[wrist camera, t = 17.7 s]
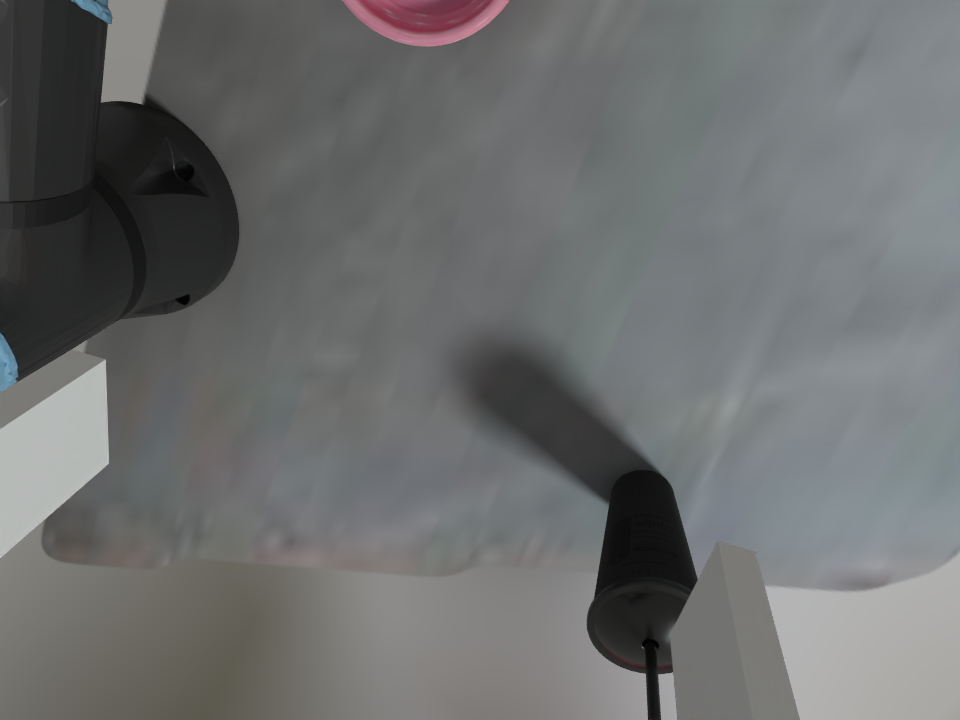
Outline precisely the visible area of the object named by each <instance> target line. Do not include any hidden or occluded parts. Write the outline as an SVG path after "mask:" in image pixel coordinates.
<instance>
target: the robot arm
mask: <svg viewBox="0 0 960 720" xmlns="http://www.w3.org/2000/svg"><path fill="white" fill-rule="evenodd" d="M108 24H112V15H111V12H110V10H109V8H108V0H0V558H1V557H2V556H3V555H4V554H5V553H6V552H8V551H9V550H10V549H11V548H12V547H13V546H15V545H16V544H17V543H18V542H19V541H20V540H21V539H23V538H24V537H25V536H26V535H27V534H28V533H30V532H31V531H32V530H33V529H34V528H35V527H36V526H38V525H39V524H40V523H41V522H42V521H43V520H44V519H46V518H47V517H48V516H49V515H50V514H51V513H53V512H54V511H55V510H56V509H57V508H58V507H59V506H61V505H62V504H63V503H64V502H65V501H66V500H67V499H69V498H70V497H71V496H72V495H73V494H74V493H76V492H77V491H78V490H79V489H80V488H81V487H82V486H84V485H85V484H86V483H87V482H88V481H89V480H90V479H92V478H93V477H94V476H95V475H96V474H97V473H99V472H100V471H101V470H102V469H103V468H104V467H105V466H107V465H108V464H109V452H108V421H107V389H106V360H105V359H102V358H99V357H95V356H92V355H89V354H85V353H82V352H78V351H75V350H71V349H73V348H74V347H76V346H78V345H79V344H81V343H82V342H84V341H86V340H87V339H89V338H90V337H92V336H94V335H95V334H97V333H98V332H100V331H102V330H103V329H105V328H106V327H108V326H109V325H111V324H113V323H114V322H116V321H118V320H119V319H128V318H137V317H145V316H154V315H163V314H168V313H173V312H176V311H179V310H182V309H184V308H187V307H189V306H191V305H193V304H194V303H196V302H197V301H199V300H200V299H202V298H203V297H205V296H206V295H208V294H209V293H211V292H212V291H213V290H214V289H216V288H217V287H218V286H219V285H220V284H221V282H222V281H223V280H224V279H225V277H226V276H227V274H228V272H229V271H230V269H231V267H232V264H233V262H234V259H235V256H236V252H237V247H238V240H239V221H238V213H237V208H236V204H235V200H234V196H233V193H232V190H231V188H230V185H229V183H228V181H227V179H226V177H225V175H224V173H223V171H222V169H221V167H220V166H219V164H218V162H217V161H216V159H215V158H214V157H213V155H212V154H211V153H210V151H209V150H208V149H207V148H206V146H205V145H204V144H203V143H202V142H201V141H200V140H199V139H198V138H197V137H196V136H195V135H194V134H193V133H192V132H191V131H190V130H188V129H187V128H186V127H185V126H183V125H182V124H181V123H179V122H178V121H176V120H175V119H173V118H172V117H170V116H168V115H166V114H165V113H163V112H160V111H158V110H156V109H154V108H151V107H148V106H145V105H142V104H137V103H132V102H124V101H123V102H122V101H111V102H103V103H101V93H102V82H103V71H104V59H105V49H106V37H107V26H108ZM66 352H67V353H66ZM670 641H671V653H672V664H673V675H674V686H675V698H676V709H677V720H800V718H799V715H798V711H797V707H796V704H795V700H794V696H793V692H792V688H791V684H790V681H789V677H788V673H787V669H786V665H785V662H784V658H783V654H782V650H781V647H780V643H779V639H778V636H777V632H776V628H775V624H774V620H773V616H772V612H771V609H770V605H769V602H768V598H767V594H766V590H765V586H764V582H763V578H762V575H761V571H760V567H759V563H758V559H757V556H756V552H754V551H750V550H747V549H744V548H740V547H737V546H733V545H730V544H727V543H723V542H720V541H718V542H717V544H716V546H715V548H714V549H713V551H712V553H711V555H710V557H709V559H708V561H707V563H706V565H705V567H704V569H703V571H702V573H701V575H700V577H699V579H698V581H697V583H696V585H695V587H694V588H693V590H692V592H691V594H690V596H689V598H688V600H687V602H686V604H685V606H684V608H683V610H682V612H681V614H680V616H679V618H678V620H677V622H676V624H675V626H674V627H673V629H672V631H671V633H670Z"/></svg>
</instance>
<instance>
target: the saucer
mask: <svg viewBox="0 0 960 720" xmlns="http://www.w3.org/2000/svg"><path fill="white" fill-rule="evenodd" d="M342 1H343V2H344V4H345V5H346V6H347V7H348V8H349V10H350V11H351V12H352V13H353V14H354V15H355V16H356V17H357V18H358V19H359V20H361V21H362V22H363V23H364V24H366V25H367V26H368V27H370V28H371V29H372V30H374V31H375V32H377V33H379V34H381V35H383V36H385V37H387V38H389V39H392V40H394V41H397V42H400V43H404V44H408V45H414V46H439V45H445V44H449V43H453V42H456V41H459V40H462V39H464V38H466V37H468V36H470V35H472V34H474V33H476V32H477V31H479V30H480V29H482V28H483V27H485V26H486V25H487V24H489V23H490V22H491V21H492V20H493V19H494V18H495V17H496V16H497V15H498V14H499V13H500V12H501V11H502V10H503V9H504V8H505V6H506V5H507V4H508V3H509V1H510V0H342Z"/></svg>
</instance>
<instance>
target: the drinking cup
mask: <svg viewBox="0 0 960 720" xmlns="http://www.w3.org/2000/svg"><path fill="white" fill-rule="evenodd" d="M697 581H698V579H697V575H696V572H695V568H694V565H693V561H692V557H691V554H690V550H689V546H688V543H687V539H686V536H685V532H684V528H683V525H682V521H681V517H680V514H679V510H678V507H677V503H676V499H675V496H674V492H673V489H672V487H671V485H670V484H669V482H668V481H667V480H666V479H665V478H663V477H662V476H660V475H658V474H656V473H654V472H650V471H633V472H630V473H627V474H625V475H623V476H622V477H620V478H619V479H618V480H617V481H616V483H615V484H614V486H613V488H612V492H611V498H610V504H609V510H608V516H607V522H606V528H605V535H604V541H603V547H602V553H601V559H600V565H599V572H598V578H597V584H596V590H595V596H594V600H593V601H592V603H591V605H590V607H589V610H588V615H587V631H588V634H589V637H590V639H591V641H592V643H593V645H594V646H595V648H596V649H597V650H598V651H599V652H600V653H601V654H602V655H603V656H604V657H605V658H607V659H608V660H609V661H611V662H612V663H614V664H616V665H618V666H620V667H622V668H625V669H628V670H631V671H635V672H639V673H645V674H646V683H647V706H648V720H661V714H660V713H661V712H660V698H659V682H658V674H665V673H672V672H673V664H672V653H671V641H670V633H671V631H672V629H673V627H674V626H675V624H676V622H677V620H678V618H679V616H680V614H681V612H682V610H683V608H684V606H685V604H686V602H687V600H688V598H689V596H690V594H691V592H692V590H693V588H694V587H695V585H696V583H697Z"/></svg>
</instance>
